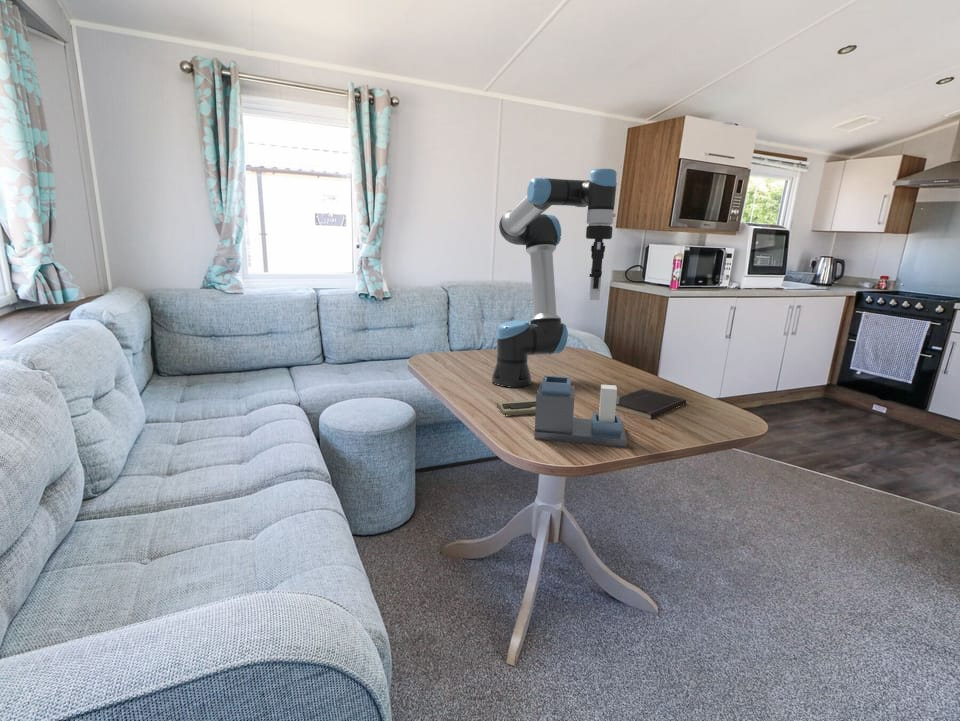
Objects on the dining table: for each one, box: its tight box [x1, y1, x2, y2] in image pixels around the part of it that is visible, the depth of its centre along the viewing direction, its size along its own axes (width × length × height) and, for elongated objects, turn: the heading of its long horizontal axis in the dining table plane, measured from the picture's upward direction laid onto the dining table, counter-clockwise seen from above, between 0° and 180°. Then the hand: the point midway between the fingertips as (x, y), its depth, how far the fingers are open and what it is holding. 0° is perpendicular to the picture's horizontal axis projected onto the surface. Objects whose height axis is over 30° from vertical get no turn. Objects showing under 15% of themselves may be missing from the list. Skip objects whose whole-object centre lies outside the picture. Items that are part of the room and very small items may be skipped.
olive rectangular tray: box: [496, 398, 536, 416], centre depth 153 cm, size 16×8×3 cm, turn 105°
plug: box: [598, 384, 620, 422], centre depth 132 cm, size 5×4×12 cm
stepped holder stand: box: [533, 375, 628, 448], centre depth 134 cm, size 24×14×15 cm, turn 78°
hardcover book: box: [616, 388, 687, 420], centre depth 161 cm, size 16×23×2 cm
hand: (594, 297), depth 148 cm, fingers open, 13 cm apart
